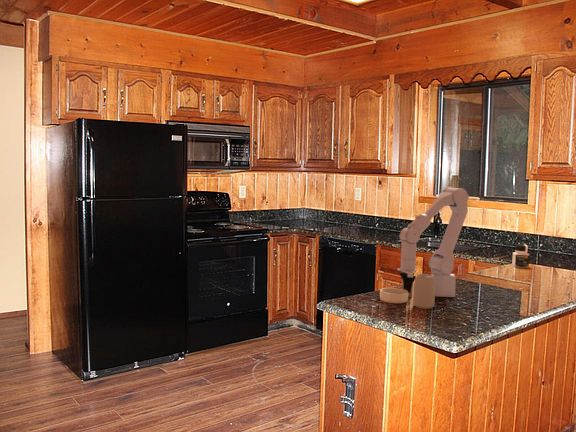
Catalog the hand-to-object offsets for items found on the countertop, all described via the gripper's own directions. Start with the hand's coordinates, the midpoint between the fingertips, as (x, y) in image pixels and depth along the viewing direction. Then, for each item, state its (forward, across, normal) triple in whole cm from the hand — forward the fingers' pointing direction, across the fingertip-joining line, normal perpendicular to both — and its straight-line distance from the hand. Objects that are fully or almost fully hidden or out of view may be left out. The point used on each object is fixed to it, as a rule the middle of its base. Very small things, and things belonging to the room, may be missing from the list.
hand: (406, 291), depth 221 cm
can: (+2, +16, +4) cm, 17 cm away
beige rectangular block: (+2, 0, 0) cm, 2 cm away
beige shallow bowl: (+2, +7, -6) cm, 9 cm away
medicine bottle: (+2, -80, +72) cm, 108 cm away
